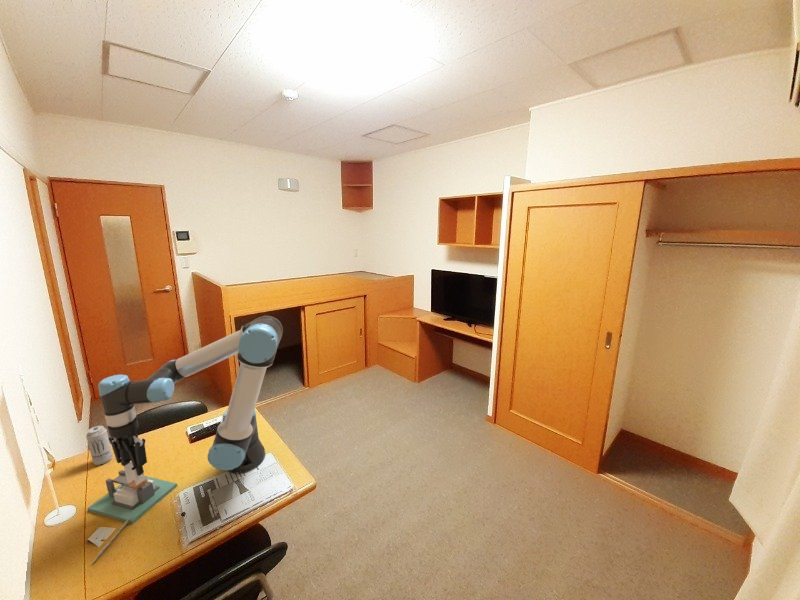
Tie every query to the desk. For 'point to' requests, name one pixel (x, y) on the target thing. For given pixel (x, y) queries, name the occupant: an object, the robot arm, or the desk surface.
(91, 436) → the energy drink can
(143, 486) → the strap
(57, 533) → the desk surface
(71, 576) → the desk surface
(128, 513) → the socket board
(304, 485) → the desk surface
